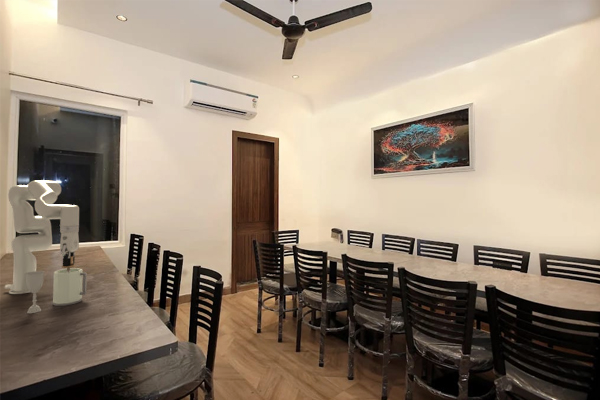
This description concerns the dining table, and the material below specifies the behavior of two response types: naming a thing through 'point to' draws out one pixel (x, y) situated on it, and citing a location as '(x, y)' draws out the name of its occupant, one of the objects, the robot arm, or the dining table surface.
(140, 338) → the dining table surface
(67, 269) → the plunger
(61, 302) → the press carafe
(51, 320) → the dining table surface
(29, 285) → the chalice
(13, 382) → the dining table surface
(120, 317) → the dining table surface
